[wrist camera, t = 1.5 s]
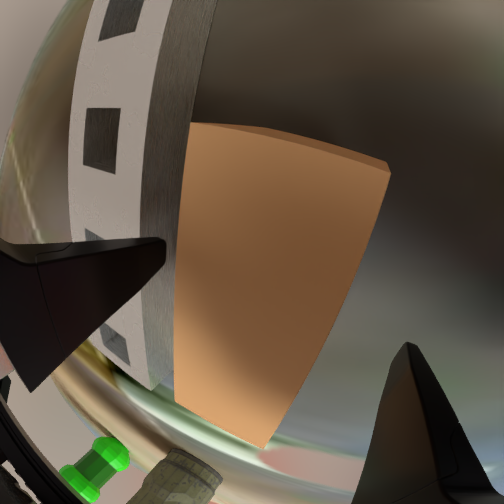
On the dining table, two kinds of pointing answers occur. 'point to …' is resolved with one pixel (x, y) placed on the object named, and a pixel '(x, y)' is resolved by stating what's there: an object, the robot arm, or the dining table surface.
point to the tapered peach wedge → (263, 266)
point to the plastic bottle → (96, 467)
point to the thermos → (178, 481)
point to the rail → (136, 155)
